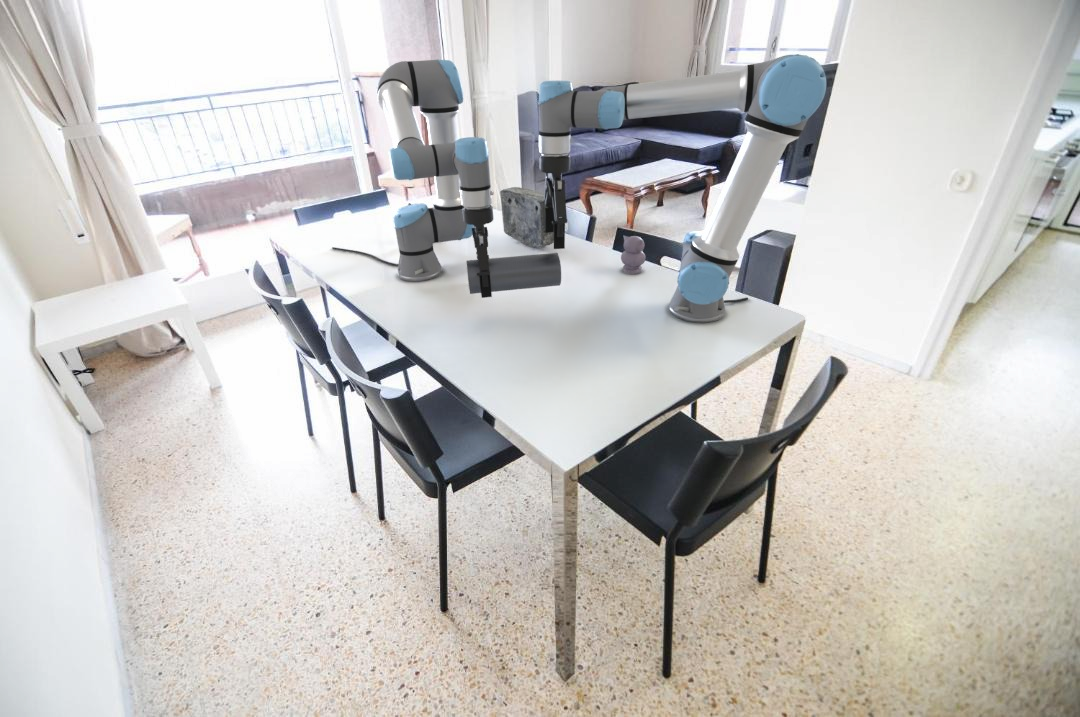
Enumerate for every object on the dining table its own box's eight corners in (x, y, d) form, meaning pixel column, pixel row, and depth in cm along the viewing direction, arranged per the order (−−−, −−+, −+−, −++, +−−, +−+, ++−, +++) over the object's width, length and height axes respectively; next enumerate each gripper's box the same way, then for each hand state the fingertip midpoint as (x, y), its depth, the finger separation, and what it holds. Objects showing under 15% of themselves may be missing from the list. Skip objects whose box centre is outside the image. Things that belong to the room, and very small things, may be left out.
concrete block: (559, 249, 192) (558, 197, 182) (540, 255, 188) (538, 201, 178) (520, 233, 211) (518, 185, 200) (503, 238, 207) (499, 188, 196)
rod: (470, 299, 131) (466, 267, 126) (469, 286, 139) (465, 255, 134) (561, 290, 134) (561, 259, 129) (555, 278, 141) (555, 248, 137)
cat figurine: (649, 270, 171) (652, 236, 165) (636, 276, 167) (638, 242, 160) (628, 264, 176) (630, 231, 170) (615, 271, 172) (617, 237, 165)
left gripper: (495, 216, 115) (502, 305, 126) (489, 194, 133) (496, 273, 145) (463, 219, 114) (473, 307, 126) (461, 196, 132) (470, 276, 144)
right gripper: (581, 163, 110) (578, 255, 121) (560, 145, 130) (559, 225, 142) (547, 164, 109) (547, 257, 120) (532, 146, 130) (533, 226, 141)
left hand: (485, 289), depth 135 cm, fingers closed on rod, 9 cm apart
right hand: (554, 239), depth 131 cm, fingers open, 13 cm apart
